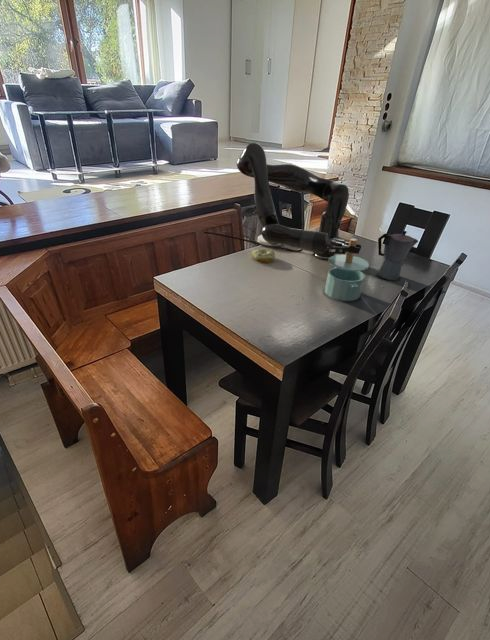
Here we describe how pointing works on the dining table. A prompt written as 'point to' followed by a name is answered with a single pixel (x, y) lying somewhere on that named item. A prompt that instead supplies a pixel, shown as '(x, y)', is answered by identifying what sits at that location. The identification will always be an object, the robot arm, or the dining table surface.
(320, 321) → the dining table surface
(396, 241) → the moka pot
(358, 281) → the pot
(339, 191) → the robot arm
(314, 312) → the dining table surface
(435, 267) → the dining table surface
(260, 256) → the decorated donut
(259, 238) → the plastic lid
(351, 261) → the pot lid
